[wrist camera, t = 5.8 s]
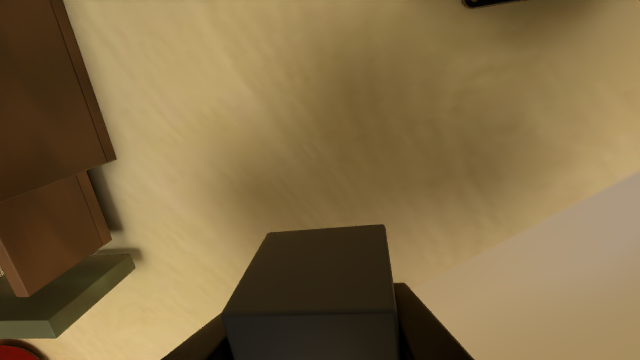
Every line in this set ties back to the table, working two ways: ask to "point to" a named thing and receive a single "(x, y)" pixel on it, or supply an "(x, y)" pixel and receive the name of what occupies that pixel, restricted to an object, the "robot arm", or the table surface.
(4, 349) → the beverage can
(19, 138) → the cabinet
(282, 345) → the block
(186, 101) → the table surface
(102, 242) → the drawer
